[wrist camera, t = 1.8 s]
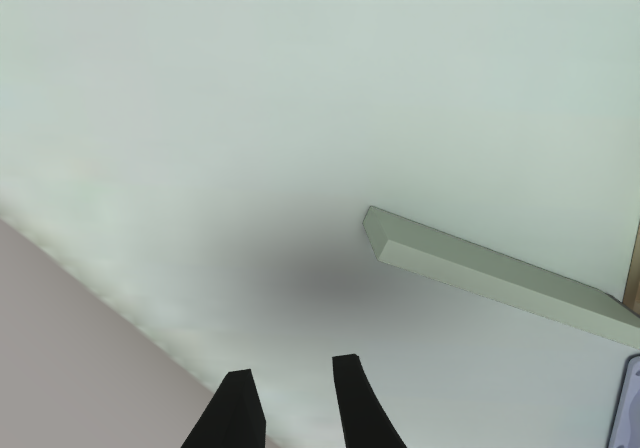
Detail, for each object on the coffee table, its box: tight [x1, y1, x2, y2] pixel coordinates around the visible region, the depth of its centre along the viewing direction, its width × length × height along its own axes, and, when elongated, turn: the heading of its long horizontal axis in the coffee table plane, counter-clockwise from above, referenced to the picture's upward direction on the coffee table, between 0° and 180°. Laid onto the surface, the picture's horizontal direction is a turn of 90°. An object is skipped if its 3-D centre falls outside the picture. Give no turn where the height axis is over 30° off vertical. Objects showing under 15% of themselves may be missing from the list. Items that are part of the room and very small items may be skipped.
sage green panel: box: [363, 206, 640, 350], centre depth 17 cm, size 16×1×4 cm, turn 69°
